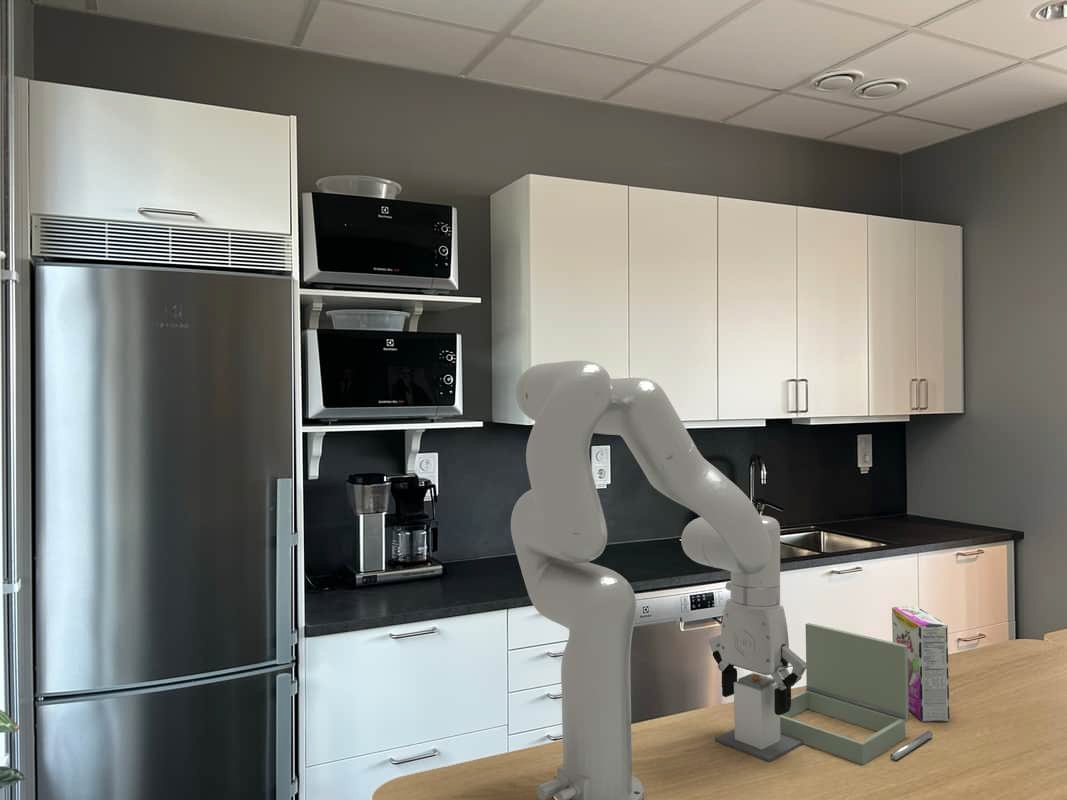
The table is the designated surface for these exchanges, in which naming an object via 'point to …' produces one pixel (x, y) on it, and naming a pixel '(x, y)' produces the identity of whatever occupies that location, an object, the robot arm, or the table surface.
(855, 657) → the case
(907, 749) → the rod
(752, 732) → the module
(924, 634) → the candy bar box
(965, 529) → the table surface
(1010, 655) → the table surface
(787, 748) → the mat
